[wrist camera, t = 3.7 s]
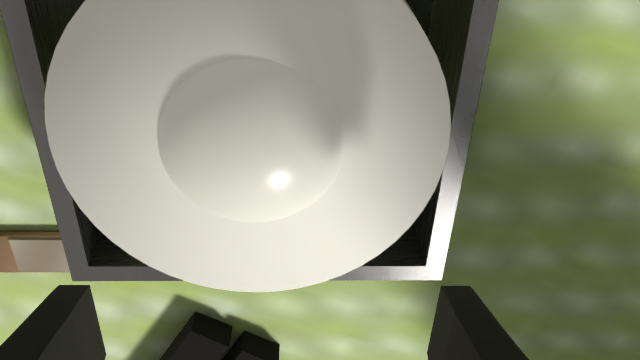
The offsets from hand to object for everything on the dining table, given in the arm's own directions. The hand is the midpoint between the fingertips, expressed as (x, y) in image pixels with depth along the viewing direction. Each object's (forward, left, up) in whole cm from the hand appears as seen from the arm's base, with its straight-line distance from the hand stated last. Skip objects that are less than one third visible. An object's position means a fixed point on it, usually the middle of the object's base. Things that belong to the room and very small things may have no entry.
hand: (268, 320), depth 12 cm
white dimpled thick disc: (+1, -2, -8) cm, 8 cm away
